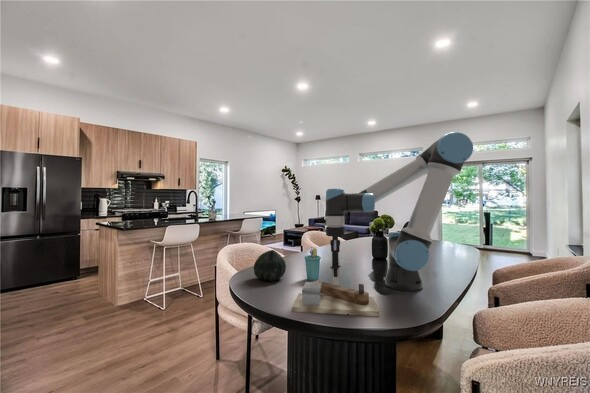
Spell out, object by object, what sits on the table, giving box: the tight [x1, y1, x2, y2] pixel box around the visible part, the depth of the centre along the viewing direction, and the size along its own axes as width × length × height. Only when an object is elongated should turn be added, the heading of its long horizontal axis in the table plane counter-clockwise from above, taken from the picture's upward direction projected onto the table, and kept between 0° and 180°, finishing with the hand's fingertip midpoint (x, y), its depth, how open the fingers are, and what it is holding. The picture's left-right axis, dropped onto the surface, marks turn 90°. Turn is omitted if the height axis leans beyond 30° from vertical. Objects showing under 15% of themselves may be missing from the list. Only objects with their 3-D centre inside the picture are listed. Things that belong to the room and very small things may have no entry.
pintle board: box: [292, 292, 380, 317], centre depth 97 cm, size 28×14×2 cm, turn 81°
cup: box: [304, 247, 322, 282], centre depth 131 cm, size 14×8×15 cm, turn 171°
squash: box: [253, 249, 287, 282], centre depth 131 cm, size 14×15×15 cm
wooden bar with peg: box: [312, 279, 370, 305], centre depth 102 cm, size 24×5×6 cm, turn 46°
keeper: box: [301, 281, 322, 306], centre depth 98 cm, size 6×10×5 cm, turn 171°
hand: (335, 284), depth 113 cm, fingers closed
